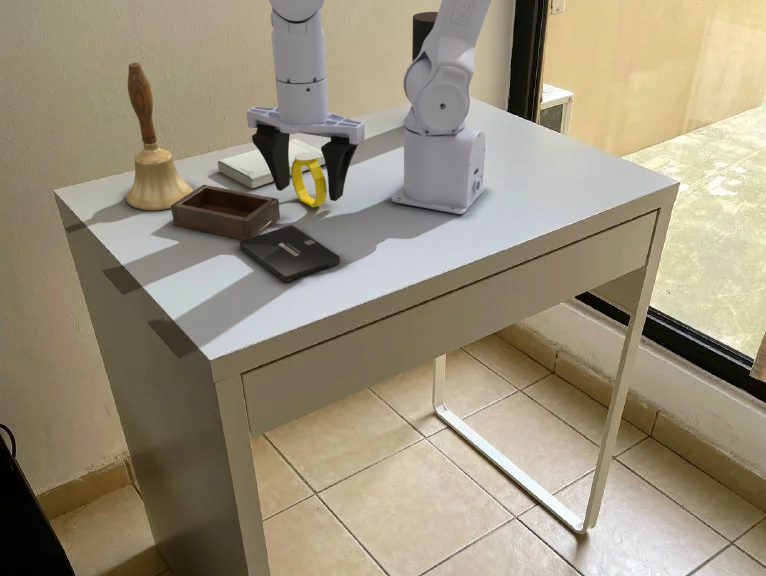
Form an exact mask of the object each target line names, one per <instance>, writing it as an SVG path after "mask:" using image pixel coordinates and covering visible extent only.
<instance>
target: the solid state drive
mask: <svg viewBox="0 0 766 576" xmlns="http://www.w3.org/2000/svg"><path fill="white" fill-rule="evenodd" d="M239 248H240V249H241V250H242V251H243V252H244V253H246V254H247V255H249V256H250V257H251V258H253V260H255V261H256V262H258V263H260V264H261V266H263V267H264V268H266V269H267V270H268V271H270V272H271V273H272V274H274V275H275V276H276V277H278V278H279V279H281V280H282V281H283V282H285V283H289V282H292V281H294V279H296V278H299V277H301V276H304V275H307V274H309V273H315V272H318V270H321V269H323V268H331V267H334V266H336V265H338V264H340V263H341V257H340V255H338V254H336V253H335V252H334V251H333V250H331V249H329V248H328V247H326V246H325V245H323V244H321V243H320V242H318V241H317V240H316V239H314V238H312V237H311V236H310V235H308V234H307V233H304V231H302V230H300V229H299V228H298V227H296V226H294V225H286V226H284V227H281V228H277V229H274V230H271V231H267V232H265V233H263V234H262V233H261V234H260V235H258V236H256V237H253V238H249V239H246V240H241V241H239Z"/></svg>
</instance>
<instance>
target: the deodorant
mask: <svg viewBox="0 0 766 576" xmlns="http://www.w3.org/2000/svg"><path fill="white" fill-rule="evenodd" d="M437 14H438V11H425V12H419V13H415V14H413V15H412V43H411V44H412V48H411V49H412V52H411V53H412V56H411V63H412V62H413V61H414V60H415V59H416V58H417V57H418V55H419V53H420V51H421V49H422V45H423V42H424V40H425V39H426V37H427V36H428V35H429V33H430V32H431V31H432V29H433V27H434V24H435V21H436V17H437Z"/></svg>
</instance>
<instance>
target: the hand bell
mask: <svg viewBox="0 0 766 576" xmlns="http://www.w3.org/2000/svg"><path fill="white" fill-rule="evenodd" d="M127 74H128V75H127V92H128V97H129V101H130V104H131V106H132V107H131V108H132V109H133V111H134V113H135V115H136V117H137V119H138V122H139V126H140V127H139V128H140V134H141V141H142V144H143V149H142V150H140V151H138V152H137V153H136V154H135V155H134V160H133V161H134V180H133V184H132V186H131V188H130V189H129V190H128V192H127V194H126V197H125V200H126V202H127V204H128V205H129V206H130V207H133V208H135V209H138V210H143V211H163V210H169V209H170V210H171V205H172V204H174V203H175V202H177V201H178V200H180V199H182V198H183V197H185V196H186V195H188V194H189V193H191V192H193V191H194V189H193V188H192V186H191V185H190V184H189V183H188V182H186V181H184V180H183V178H182V177H181V176H180V174H179V172H178V170H177V168H176V165H175V162H174V159H173V156H172V153H171V152H170V151H168V150H167V149H164V148H161V147H160V146H159V143H158V137H157V136H156V130H155V126H154V122H153V110H154V99H153V93H152V89H151V85H150V82H149V80H148V78H147V75H146V73H145V72H144V70H143V67H142V66H141V63H139V62H131V63H129V64H128V73H127Z"/></svg>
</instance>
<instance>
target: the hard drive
mask: <svg viewBox="0 0 766 576" xmlns="http://www.w3.org/2000/svg"><path fill="white" fill-rule="evenodd" d="M304 152H311V153H315V154H317V155H318V162H317V163H318V164H319V165H320V166H323V165H326V164H325V160H324V157H323V154H322V151H321V149H319V148H317V147H315V146H312V145H311V144H308V143H306V142H303V141H301V140H299V139H296V138H292V139H289V169H290V177H292V174H291V171H292V170H291V169H292V164H293V161H294V160H295V155H297V154H299V153H304ZM217 166H218V171H219V172H220V173H222V174H224V175H225V176H227V177H229V178H231V179H233V180H235V181H237V182H239V183H240V184H242V185H243V186H246V187H248V188H249V189H254V188H258V187H261V186H264V185H267V184H270V183H273V182H274V180H273V177H272V174H271V172H270V170H269V167H268V165H267V163H266V161H265V159H264V157H263V156H262V154H261V153H260V151H259V150H258V148H257V149H254V150H251V151H247V152H244V153H241V154H238V155H234V156H230V157H227V158H224V159H219V160H218V161H217ZM308 170H309V168H308V167H307V165H306V166H305V165H302V173H303V172H305V171H308ZM309 171H310V170H309Z"/></svg>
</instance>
